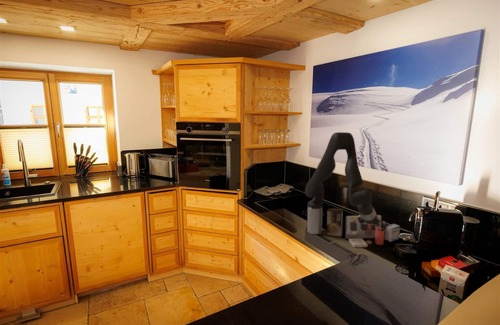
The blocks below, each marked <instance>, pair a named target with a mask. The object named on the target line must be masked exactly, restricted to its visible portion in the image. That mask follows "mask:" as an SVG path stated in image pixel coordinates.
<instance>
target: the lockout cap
mask: <svg viewBox="0 0 500 325" xmlns="http://www.w3.org/2000/svg"><path fill="white" fill-rule="evenodd" d="M375 229H376V232H375V238H374V243H375V244H376V245H378V246H383V245H384V244H385V243H384V241H385V229H384V231H381V229H380V228H379V227H376V226H375Z"/></svg>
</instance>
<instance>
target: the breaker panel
mask: <svg viewBox="0 0 500 325" xmlns="http://www.w3.org/2000/svg"><path fill="white" fill-rule="evenodd" d="M377 217H378V219H379V220H380V221H382V215H380V214H377ZM380 226H381V224H380ZM375 232H376V229H375V225H372V224H368V226H367V227H366V226H364V224H363V223H362V222H361V223H359V221H358V215H346V216H345V235H344V237H345V239H347V240H349V239H357V238H362V239H375Z"/></svg>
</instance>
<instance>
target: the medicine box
mask: <svg viewBox="0 0 500 325" xmlns="http://www.w3.org/2000/svg"><path fill="white" fill-rule="evenodd" d="M400 228H401V226H400V225H399V224H396V223H392V224H389V225H388V224H387V227H386V229H385V230H384V241H388V242H390V243H392V242H394V241H398V240H399V239H400V230H401V229H400Z"/></svg>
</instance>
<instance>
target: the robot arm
mask: <svg viewBox="0 0 500 325" xmlns="http://www.w3.org/2000/svg"><path fill="white" fill-rule="evenodd" d="M355 144H356V143H355V139H354V135H353V134H352V133H350V132H348V131H347V132H345V131H344V132H343V131H342V132H340V131H339V132H333V133H332V134H331V136H330V138H329V141H328V144H327V146H326V148H325V151H324V154H323V155H322V157H321V159H320V161H319V163H318V164H317V166H316V170H315V171H314V173H313V175H312V176H311V178H310V179H309V181H308V182H307V183H306V186H305V188H304V193H305V196H307V197H308V198H312V199H311V200H309V201H307V233H308V234H311V235H321V234H322V231H323V229H322V228H323V227H322V226H323V204H324V197H325V187H324V185H323V182H324V181H326V180H327V179H328V178H330V177H331V176H332V175H333V172H334V171H335V169H336V167H337V166H336V165H337V164H336V161H335V155H336V153H337V151H339V150H340V151H342V150H345V152H346V156H347V158H346V159H347V160H346V162H345V166H344V174H345V175H344V176H345V177H346V178H345V179H346V182H347V187H348V201H349V204H350V205H351V206H352V207H356V208H357V210H358V213H359V214H358V215H357V216H358V221H359V223H361V222H362V223H363V224H364V226H366V227H367V226H368V224H372V225H375V226H376V227H379V228H380V229H381V231H384V232H385V230H384V229H386V227H387V226H388V223H387V221H386V220H385V219H381V221H380V220H379V219H378V217H377V215H378V214H377V212H376V211H375V208H374V207H373V205H372V204H373V203H372V202H373V197H372V196H373V195H372V192H371V191H370V190H369V189H367V188H362V189H359V190H356V188H358V187H360V186H362V185H363V184H364V181H363V178H362V175H361V171H360V168H359V162H358V157H357V150H356V145H355ZM380 224H381V226H380Z"/></svg>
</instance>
